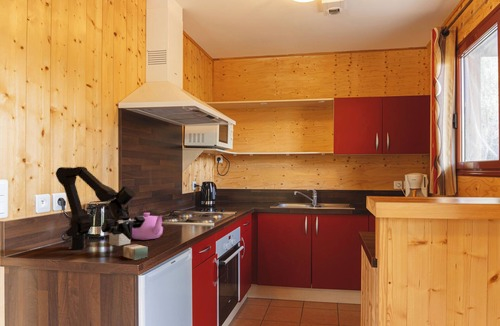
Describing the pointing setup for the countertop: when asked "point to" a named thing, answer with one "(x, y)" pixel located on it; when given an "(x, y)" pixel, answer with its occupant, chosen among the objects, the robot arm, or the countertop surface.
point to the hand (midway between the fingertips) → (130, 239)
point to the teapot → (149, 228)
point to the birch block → (135, 251)
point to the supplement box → (118, 239)
